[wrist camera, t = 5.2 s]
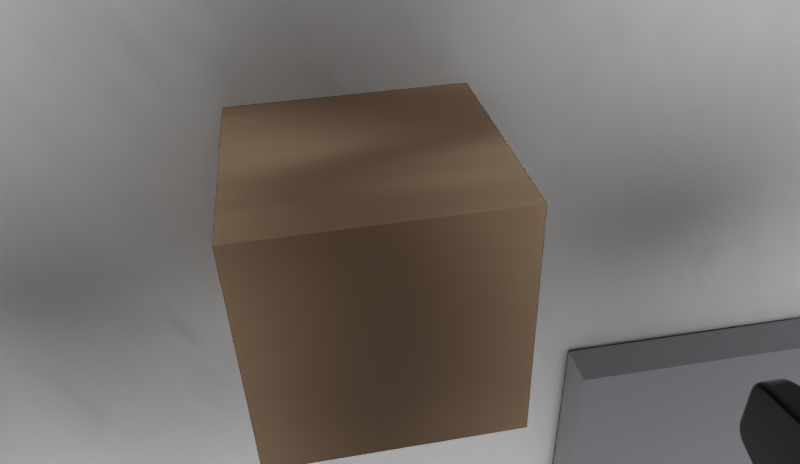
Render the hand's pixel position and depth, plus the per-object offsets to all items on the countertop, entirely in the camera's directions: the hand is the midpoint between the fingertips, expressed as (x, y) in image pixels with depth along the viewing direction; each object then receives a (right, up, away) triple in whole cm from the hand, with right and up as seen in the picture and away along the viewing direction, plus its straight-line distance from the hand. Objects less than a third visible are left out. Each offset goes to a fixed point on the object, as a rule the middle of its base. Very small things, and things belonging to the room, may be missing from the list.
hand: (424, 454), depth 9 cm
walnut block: (-1, +4, +5) cm, 7 cm away
